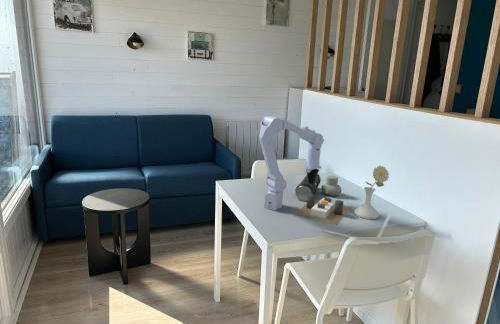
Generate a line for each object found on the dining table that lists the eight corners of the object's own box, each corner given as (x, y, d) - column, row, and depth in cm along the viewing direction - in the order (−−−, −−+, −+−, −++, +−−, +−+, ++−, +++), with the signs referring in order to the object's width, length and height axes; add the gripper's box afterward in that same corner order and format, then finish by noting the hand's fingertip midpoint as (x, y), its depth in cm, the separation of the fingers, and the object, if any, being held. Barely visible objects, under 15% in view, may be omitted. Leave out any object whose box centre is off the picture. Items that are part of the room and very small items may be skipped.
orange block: (327, 205, 169) (327, 202, 169) (321, 203, 170) (321, 200, 170) (328, 204, 170) (328, 201, 170) (322, 202, 172) (322, 199, 171)
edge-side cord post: (340, 215, 166) (342, 203, 164) (333, 214, 167) (334, 201, 166) (342, 213, 169) (344, 201, 167) (335, 211, 170) (336, 199, 169)
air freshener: (319, 191, 201) (320, 174, 199) (332, 190, 204) (334, 173, 201) (329, 198, 191) (331, 180, 189) (342, 197, 194) (344, 179, 191)
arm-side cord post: (312, 209, 172) (313, 197, 170) (305, 207, 174) (306, 195, 172) (315, 207, 175) (316, 195, 173) (308, 205, 177) (309, 193, 175)
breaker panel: (336, 227, 156) (338, 215, 154) (293, 216, 165) (294, 205, 163) (351, 208, 178) (352, 198, 176) (312, 200, 187) (313, 190, 186)
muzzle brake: (304, 187, 210) (321, 187, 207) (293, 202, 184) (313, 202, 181) (302, 171, 209) (320, 171, 205) (291, 184, 183) (312, 184, 179)
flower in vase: (355, 220, 164) (362, 167, 158) (351, 211, 175) (358, 160, 169) (385, 223, 162) (393, 169, 156) (379, 213, 173) (387, 163, 167)
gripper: (316, 161, 169) (314, 188, 172) (326, 155, 181) (323, 181, 185) (302, 158, 172) (300, 185, 175) (312, 153, 184) (310, 178, 188)
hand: (311, 183), depth 180 cm, fingers closed
